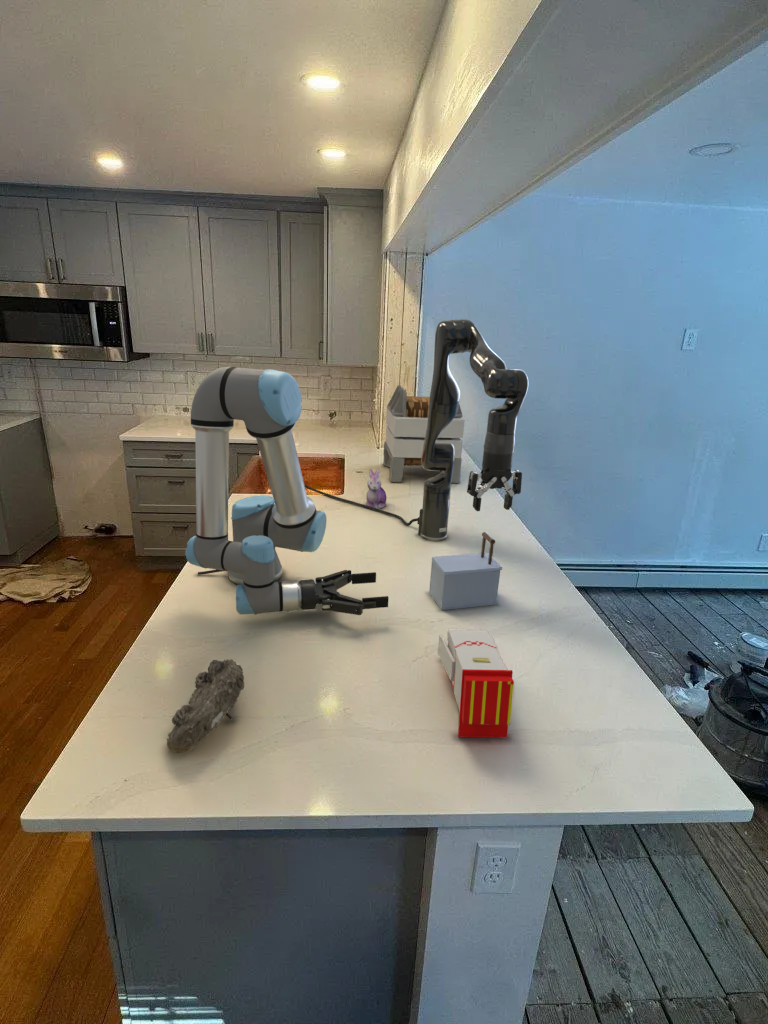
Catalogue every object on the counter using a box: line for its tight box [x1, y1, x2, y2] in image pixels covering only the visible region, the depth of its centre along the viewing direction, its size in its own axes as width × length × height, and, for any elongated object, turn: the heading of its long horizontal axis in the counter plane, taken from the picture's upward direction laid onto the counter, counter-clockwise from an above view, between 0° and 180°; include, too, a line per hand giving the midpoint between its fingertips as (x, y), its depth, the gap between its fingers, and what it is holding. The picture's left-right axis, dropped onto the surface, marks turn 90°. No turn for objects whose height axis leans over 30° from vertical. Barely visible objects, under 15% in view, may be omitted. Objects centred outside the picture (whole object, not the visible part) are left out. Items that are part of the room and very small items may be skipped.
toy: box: [437, 628, 515, 738], centre depth 117 cm, size 12×13×30 cm
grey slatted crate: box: [383, 384, 465, 484], centre depth 268 cm, size 34×33×41 cm
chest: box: [428, 559, 501, 611], centre depth 155 cm, size 16×10×10 cm, turn 106°
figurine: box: [365, 468, 387, 509], centre depth 224 cm, size 9×10×15 cm
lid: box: [431, 531, 503, 575], centre depth 152 cm, size 16×10×8 cm, turn 106°
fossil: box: [166, 658, 245, 754], centre depth 106 cm, size 22×10×15 cm
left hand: (381, 588), depth 147 cm, fingers open, 13 cm apart
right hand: (491, 509), depth 150 cm, fingers open, 8 cm apart
